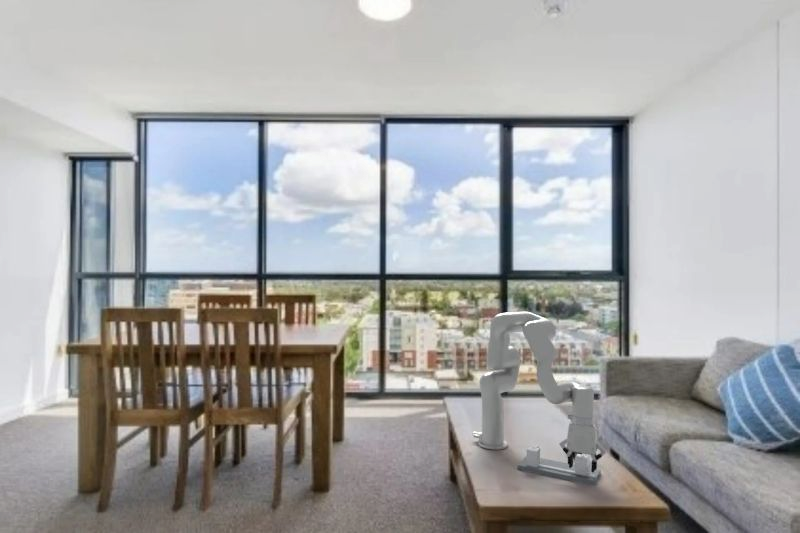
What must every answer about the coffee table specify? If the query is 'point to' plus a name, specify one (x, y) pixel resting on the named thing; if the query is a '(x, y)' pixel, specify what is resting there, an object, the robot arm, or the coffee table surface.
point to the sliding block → (582, 464)
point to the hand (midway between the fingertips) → (582, 468)
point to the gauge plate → (554, 468)
